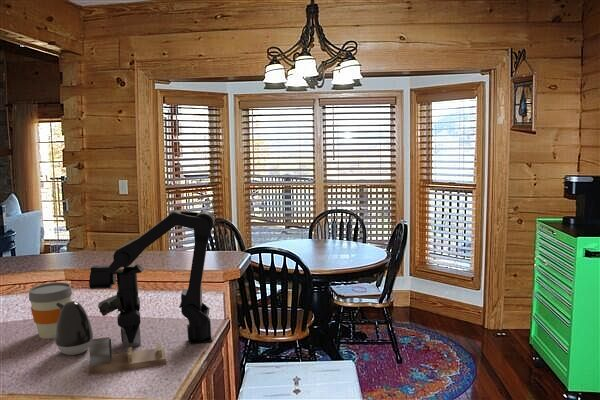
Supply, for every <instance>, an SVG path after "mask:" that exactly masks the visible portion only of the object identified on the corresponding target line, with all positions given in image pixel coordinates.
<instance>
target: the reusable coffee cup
mask: <svg viewBox="0 0 600 400" xmlns="http://www.w3.org/2000/svg"><path fill="white" fill-rule="evenodd" d="M71 286H72V285H71V283H68V282H63V281H62V282H60V281H59V282H58V281H57V282H47V283H43V284H39V285H36V286H33V287H32V288H30V289H29V290H28V301H30V304H31V306H30V311H31V315H32V319H33V323H34V324H35V325H36V329H37V333H38V337H39V338H41V339H46V340H47V339H55V334H56V325H57V321H58V317H59V314H60V311H61V309H60V308H59V307H58V306H57V305H56V304H57V303H61V304H63V305H65V304H66V303H67V302H70V301H72V295H73V291H72V287H71Z"/></svg>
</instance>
